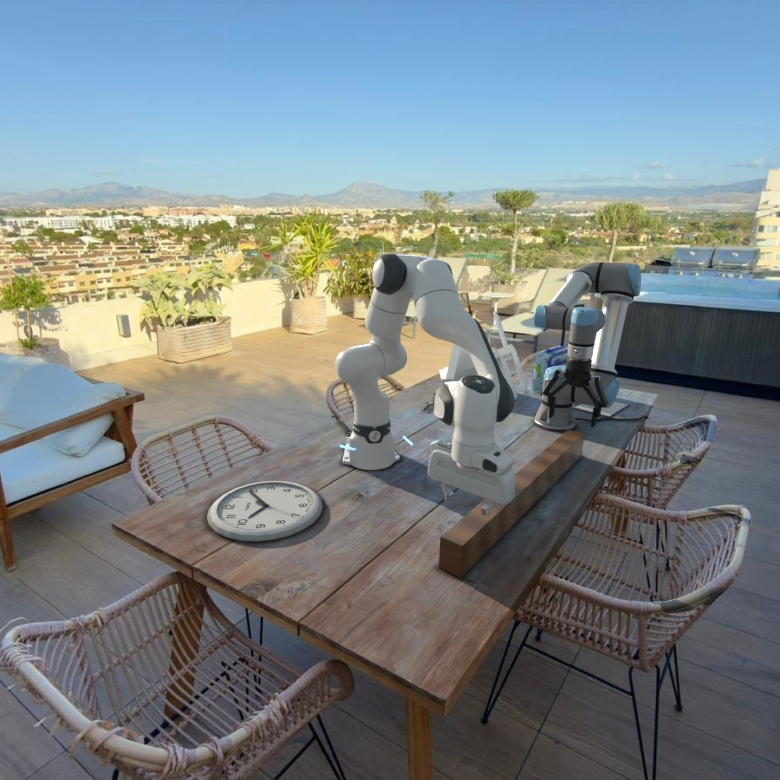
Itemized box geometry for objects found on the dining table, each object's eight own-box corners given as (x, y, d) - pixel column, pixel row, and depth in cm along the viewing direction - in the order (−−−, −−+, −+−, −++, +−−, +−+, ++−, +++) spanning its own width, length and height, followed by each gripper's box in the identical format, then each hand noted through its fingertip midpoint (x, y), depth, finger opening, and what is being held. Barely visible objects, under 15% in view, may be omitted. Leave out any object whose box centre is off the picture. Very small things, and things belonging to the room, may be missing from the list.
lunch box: (548, 399, 235) (554, 353, 228) (527, 393, 242) (532, 349, 236) (576, 387, 252) (581, 345, 246) (555, 383, 259) (560, 341, 253)
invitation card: (608, 416, 214) (573, 407, 224) (608, 416, 214) (573, 408, 224) (628, 404, 229) (594, 396, 238) (628, 405, 229) (594, 397, 238)
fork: (420, 411, 216) (420, 406, 216) (430, 400, 230) (431, 395, 230) (426, 412, 215) (426, 407, 215) (436, 401, 230) (436, 396, 229)
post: (565, 451, 180) (568, 429, 178) (581, 455, 177) (584, 433, 174) (438, 568, 117) (440, 536, 115) (460, 578, 114) (462, 545, 112)
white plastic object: (461, 429, 252) (437, 405, 227) (444, 352, 274) (420, 323, 250) (535, 404, 240) (518, 377, 215) (510, 326, 262) (492, 293, 237)
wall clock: (320, 533, 126) (192, 537, 124) (320, 539, 127) (193, 543, 124) (324, 476, 155) (220, 479, 152) (324, 481, 155) (221, 484, 153)
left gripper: (423, 442, 116) (420, 497, 121) (508, 470, 105) (502, 529, 109) (439, 433, 121) (435, 487, 125) (521, 459, 109) (514, 517, 114)
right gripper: (536, 354, 167) (530, 415, 174) (618, 367, 153) (608, 434, 159) (545, 349, 173) (539, 409, 179) (624, 361, 158) (615, 426, 165)
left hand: (467, 507), depth 117 cm, fingers open, 8 cm apart
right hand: (571, 421), depth 169 cm, fingers open, 13 cm apart
